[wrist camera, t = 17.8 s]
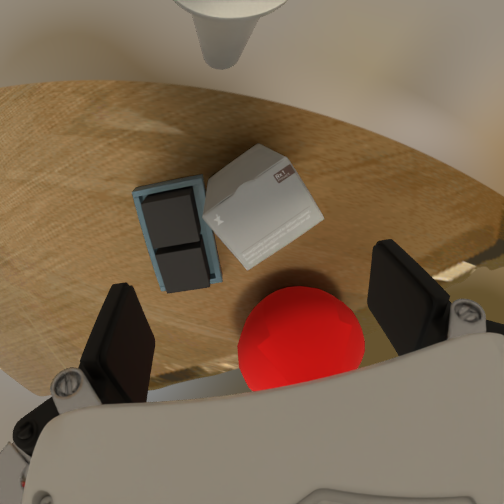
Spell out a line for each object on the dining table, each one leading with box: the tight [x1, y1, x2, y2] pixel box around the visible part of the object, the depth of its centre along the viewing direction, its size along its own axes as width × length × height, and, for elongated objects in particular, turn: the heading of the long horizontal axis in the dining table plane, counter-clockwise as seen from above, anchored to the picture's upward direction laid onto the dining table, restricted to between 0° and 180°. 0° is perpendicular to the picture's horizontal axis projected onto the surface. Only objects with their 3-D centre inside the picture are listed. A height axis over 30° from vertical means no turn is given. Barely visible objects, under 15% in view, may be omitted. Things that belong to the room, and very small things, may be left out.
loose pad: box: [141, 186, 201, 249], centre depth 36 cm, size 6×6×4 cm
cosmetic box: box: [202, 143, 324, 270], centre depth 30 cm, size 8×7×16 cm
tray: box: [132, 174, 223, 291], centre depth 39 cm, size 15×9×2 cm, turn 7°
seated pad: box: [155, 234, 210, 293], centre depth 39 cm, size 6×6×4 cm
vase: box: [238, 286, 365, 391], centre depth 35 cm, size 18×18×30 cm
